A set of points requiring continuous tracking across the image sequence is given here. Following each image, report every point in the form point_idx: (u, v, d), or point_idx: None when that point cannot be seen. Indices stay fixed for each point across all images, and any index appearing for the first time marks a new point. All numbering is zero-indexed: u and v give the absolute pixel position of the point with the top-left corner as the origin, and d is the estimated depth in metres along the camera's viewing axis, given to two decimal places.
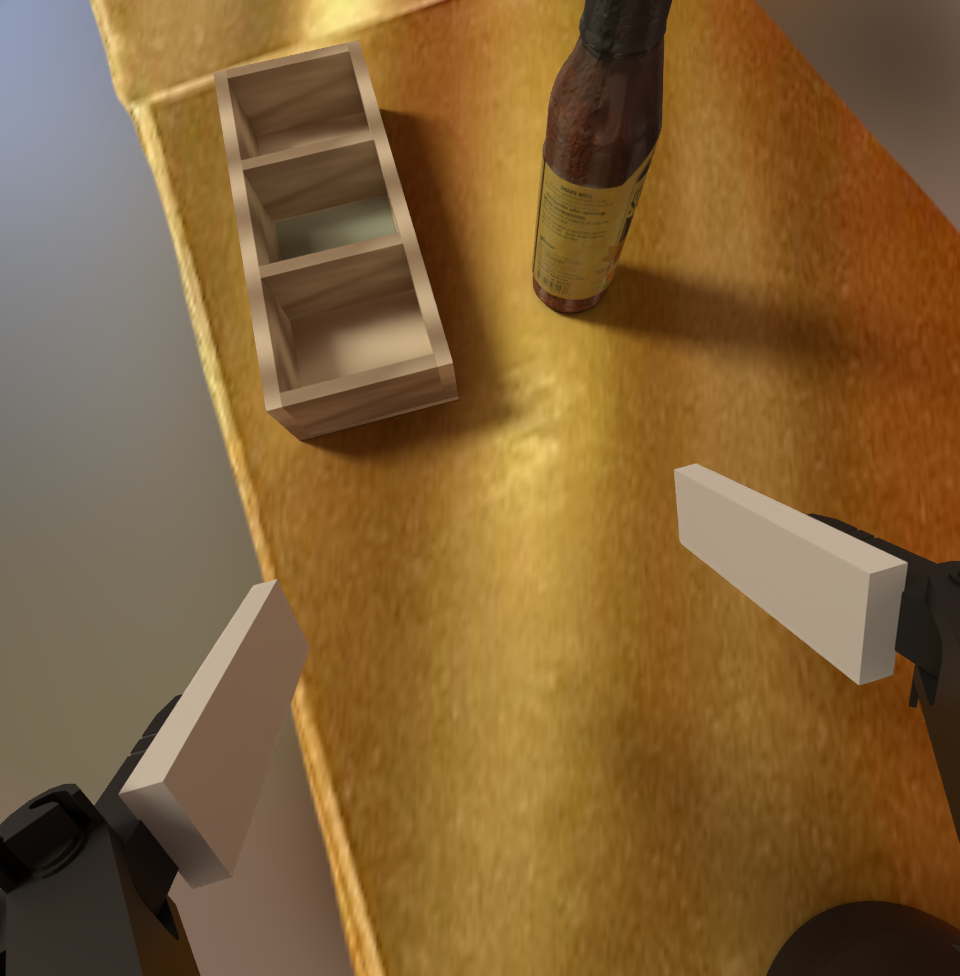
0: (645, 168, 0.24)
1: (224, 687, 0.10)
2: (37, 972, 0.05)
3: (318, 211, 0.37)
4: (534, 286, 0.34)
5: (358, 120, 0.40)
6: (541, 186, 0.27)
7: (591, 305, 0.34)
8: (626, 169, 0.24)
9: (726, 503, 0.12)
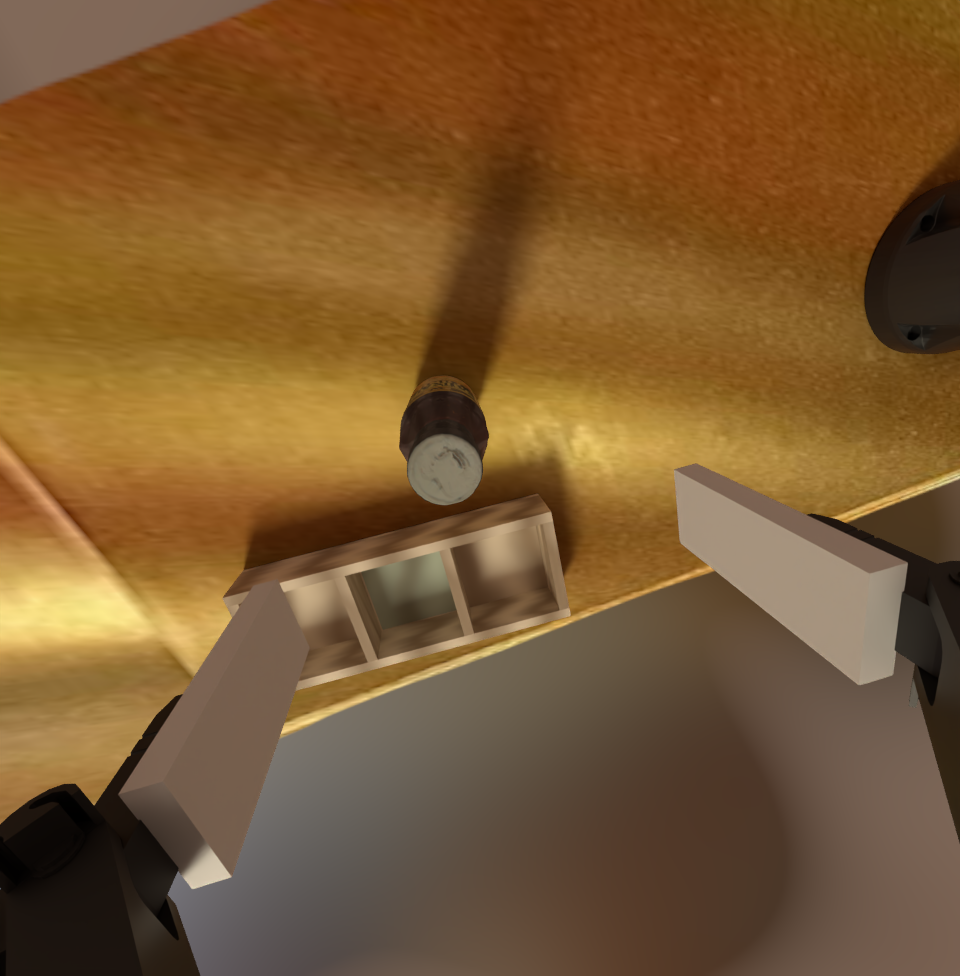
0: (471, 398, 0.31)
1: (224, 687, 0.10)
2: (37, 972, 0.05)
3: (371, 601, 0.47)
4: None
5: None
6: None
7: None
8: (483, 418, 0.31)
9: (726, 503, 0.12)
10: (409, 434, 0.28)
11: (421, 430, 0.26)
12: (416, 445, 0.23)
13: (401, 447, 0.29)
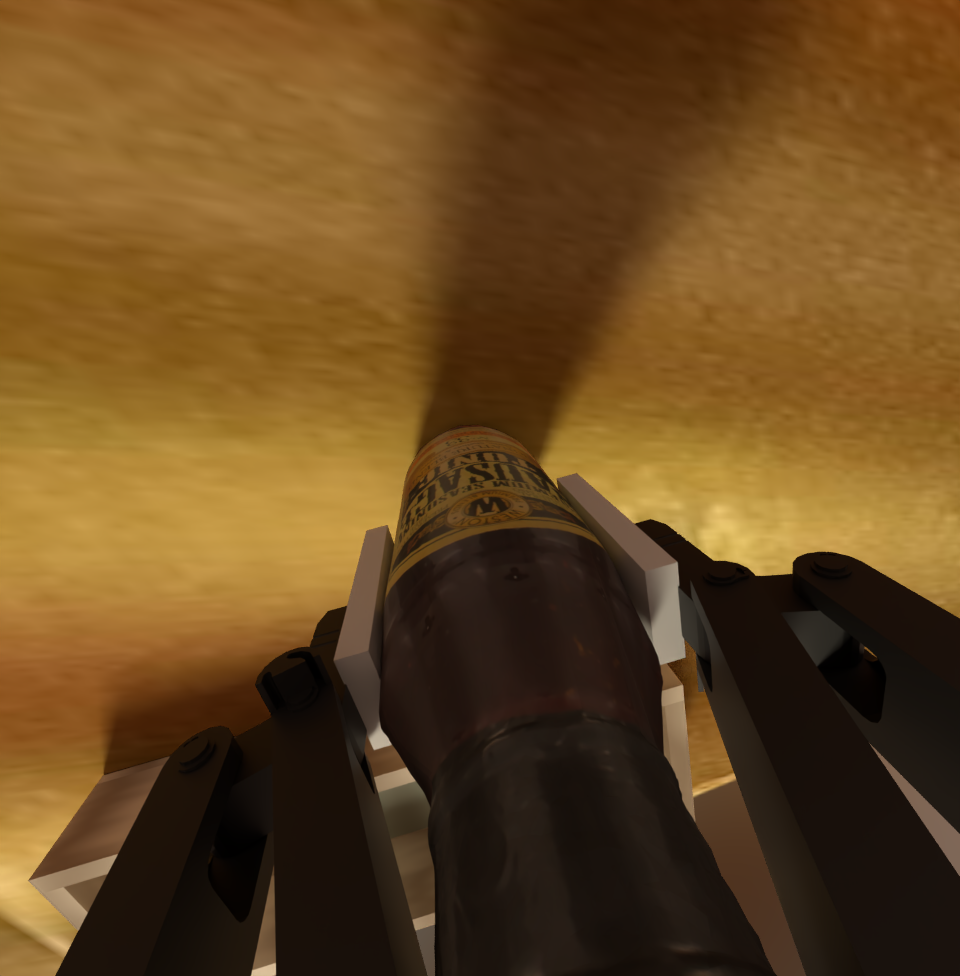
0: (584, 526, 0.11)
1: (379, 597, 0.12)
2: (291, 779, 0.07)
3: None
4: None
5: None
6: None
7: None
8: None
9: (582, 510, 0.13)
10: (412, 705, 0.08)
11: (469, 780, 0.06)
12: None
13: (385, 732, 0.08)
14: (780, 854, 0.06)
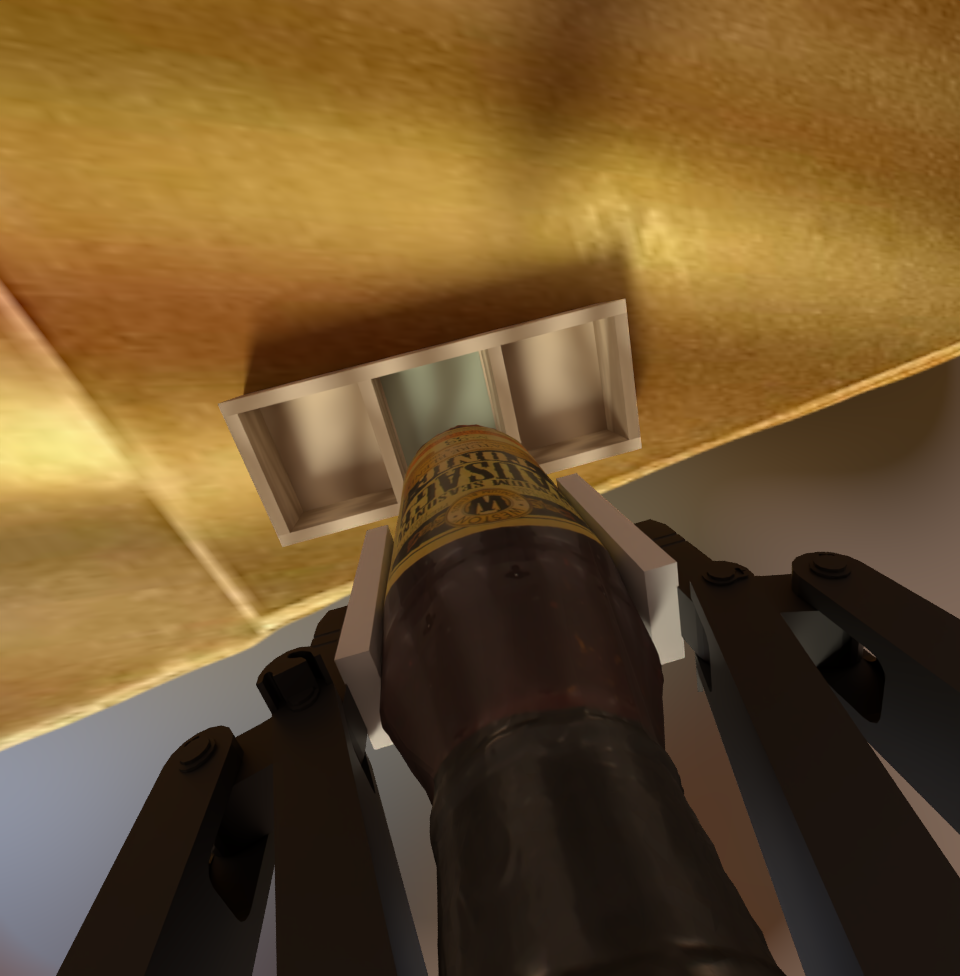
0: (584, 525, 0.11)
1: (380, 597, 0.12)
2: (292, 778, 0.07)
3: (399, 441, 0.39)
4: None
5: (272, 410, 0.37)
6: None
7: None
8: None
9: (582, 510, 0.13)
10: (414, 703, 0.08)
11: (471, 777, 0.06)
12: None
13: (386, 730, 0.08)
14: (779, 854, 0.06)
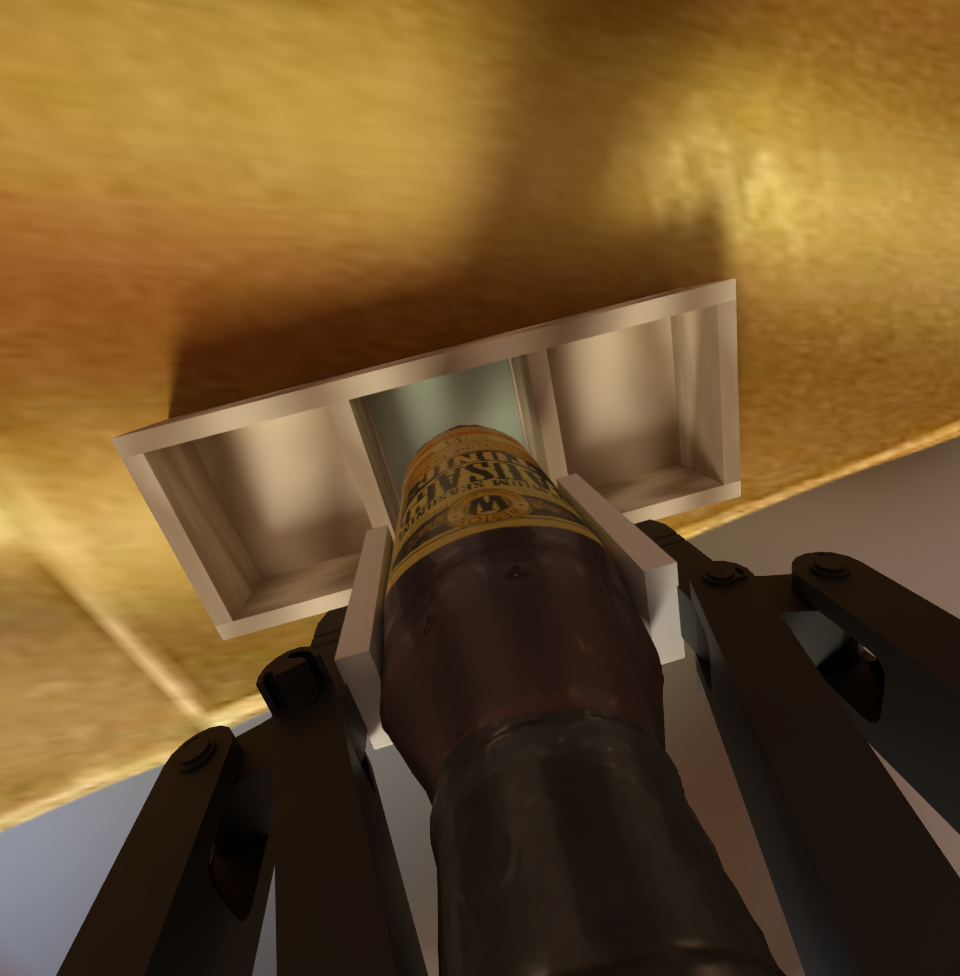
0: (584, 525, 0.11)
1: (380, 597, 0.12)
2: (292, 778, 0.07)
3: (393, 482, 0.28)
4: None
5: (210, 441, 0.25)
6: None
7: None
8: None
9: (582, 510, 0.13)
10: (414, 704, 0.08)
11: (471, 777, 0.06)
12: None
13: (386, 731, 0.08)
14: (779, 854, 0.06)
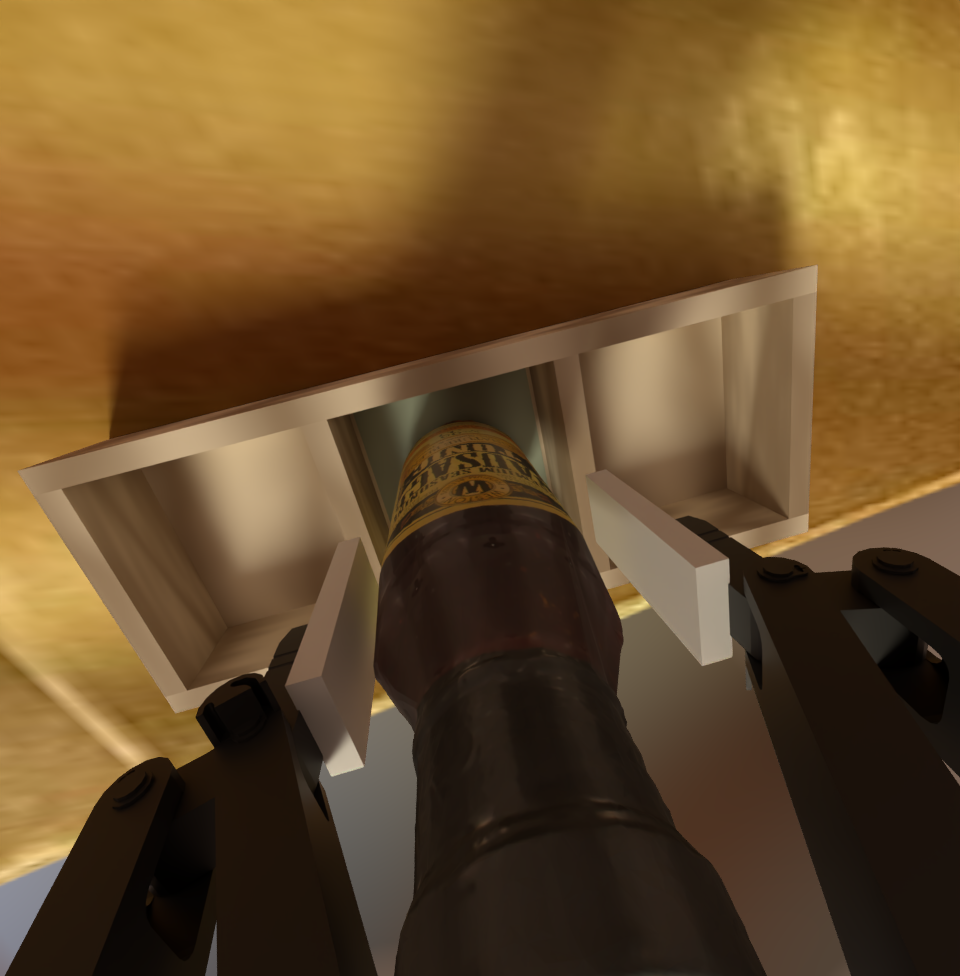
0: (559, 508, 0.12)
1: (342, 615, 0.11)
2: (236, 814, 0.07)
3: (386, 513, 0.23)
4: None
5: (161, 467, 0.21)
6: None
7: None
8: None
9: (617, 506, 0.13)
10: (403, 653, 0.09)
11: (446, 701, 0.07)
12: None
13: (378, 679, 0.10)
14: (829, 854, 0.06)
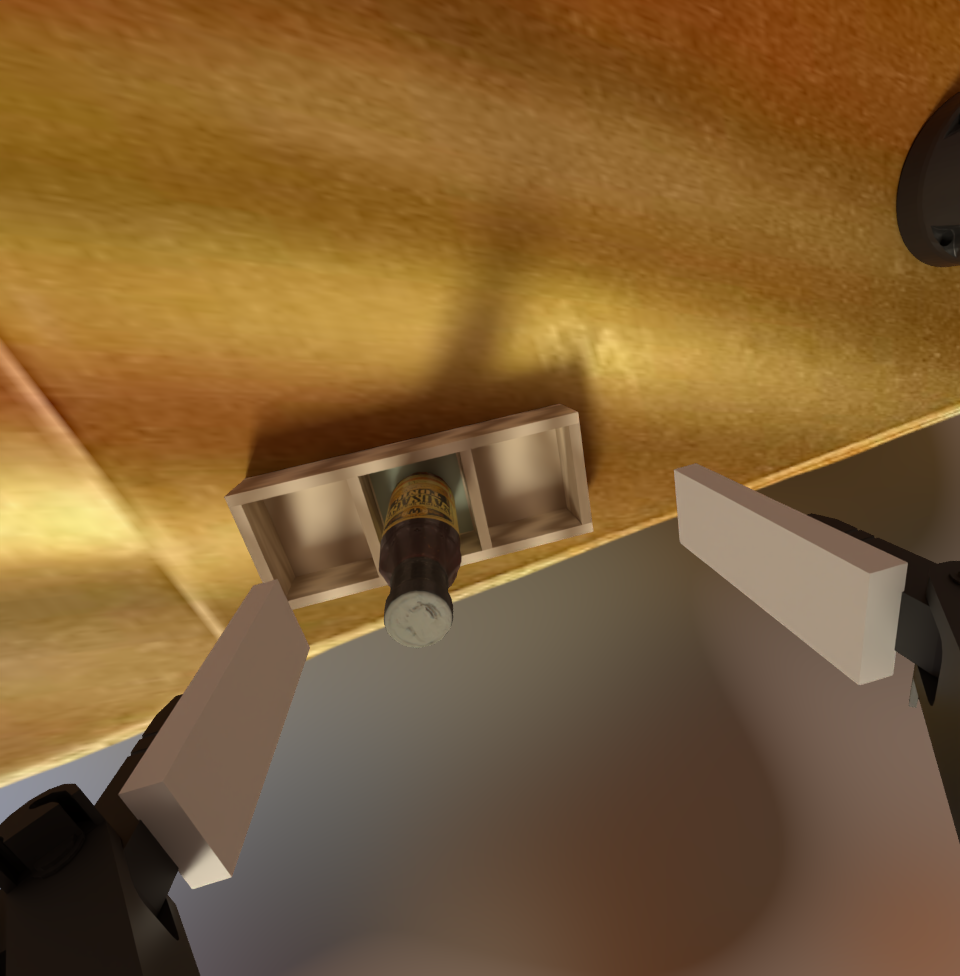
0: (447, 518, 0.34)
1: (224, 687, 0.10)
2: (37, 971, 0.05)
3: (382, 518, 0.44)
4: None
5: None
6: None
7: (449, 487, 0.43)
8: (457, 537, 0.34)
9: (726, 503, 0.12)
10: (388, 562, 0.30)
11: (398, 568, 0.28)
12: (392, 599, 0.25)
13: (380, 572, 0.31)
14: None
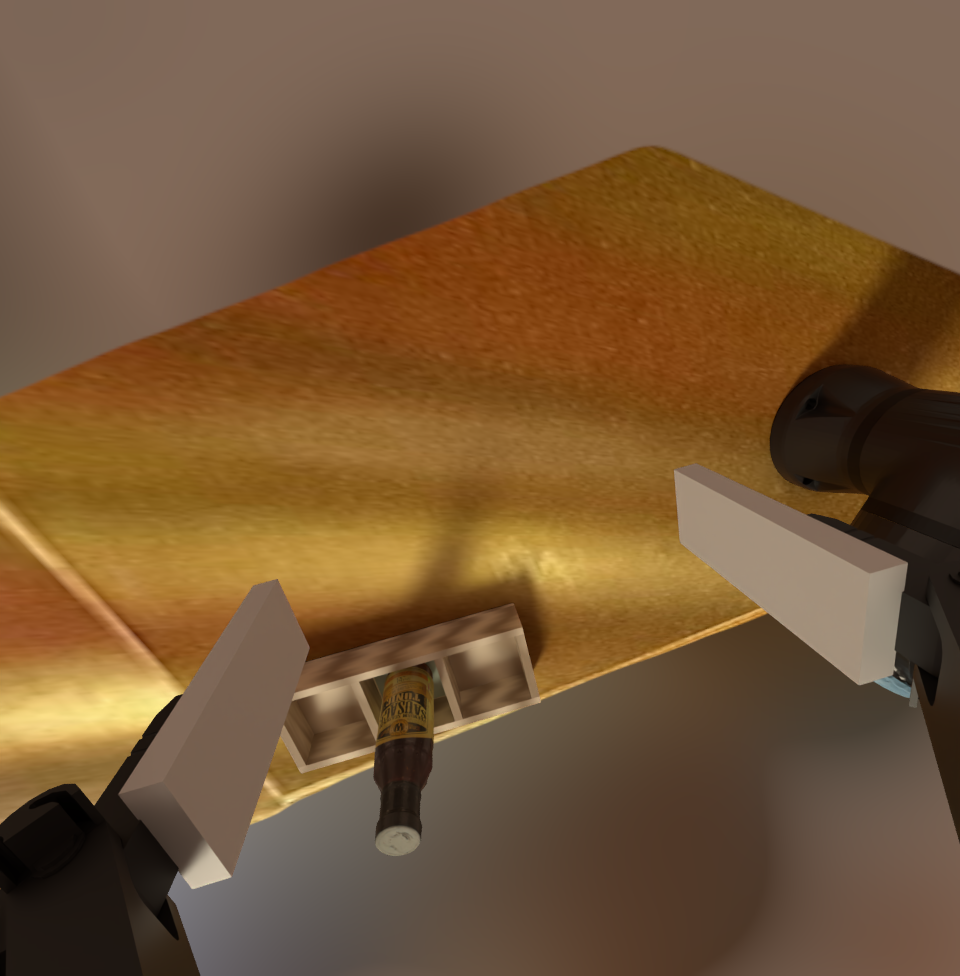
0: (422, 730, 0.47)
1: (224, 687, 0.10)
2: (37, 971, 0.05)
3: (379, 690, 0.57)
4: None
5: None
6: None
7: (429, 669, 0.56)
8: (430, 744, 0.47)
9: (726, 503, 0.12)
10: (379, 776, 0.44)
11: (385, 790, 0.42)
12: (380, 830, 0.38)
13: (374, 780, 0.44)
14: None
